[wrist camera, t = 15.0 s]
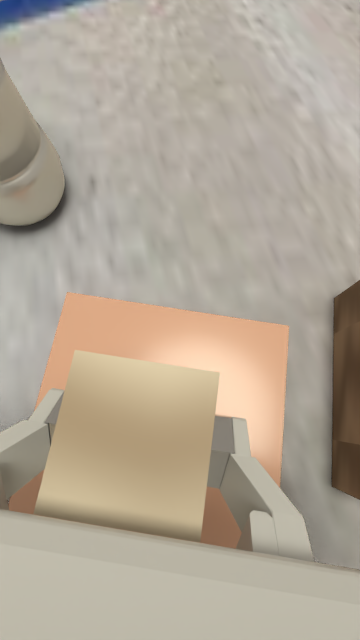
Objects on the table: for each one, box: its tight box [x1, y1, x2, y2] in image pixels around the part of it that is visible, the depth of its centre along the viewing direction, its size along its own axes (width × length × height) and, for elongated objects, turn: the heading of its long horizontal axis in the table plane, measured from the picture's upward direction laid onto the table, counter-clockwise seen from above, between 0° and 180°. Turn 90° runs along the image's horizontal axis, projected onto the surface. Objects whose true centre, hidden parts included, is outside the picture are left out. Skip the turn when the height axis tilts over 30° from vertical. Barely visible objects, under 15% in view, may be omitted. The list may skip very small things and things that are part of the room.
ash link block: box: [33, 350, 220, 542], centre depth 12 cm, size 4×4×8 cm
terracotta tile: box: [8, 292, 289, 549], centre depth 18 cm, size 14×14×1 cm
